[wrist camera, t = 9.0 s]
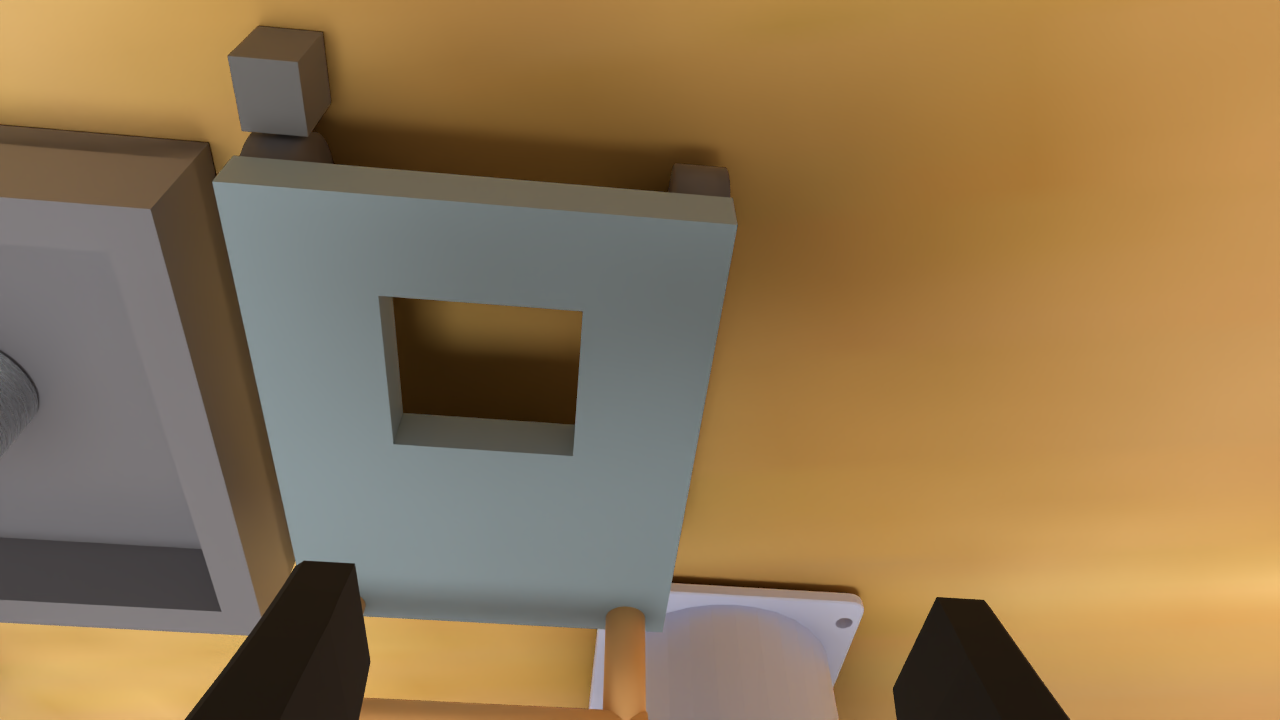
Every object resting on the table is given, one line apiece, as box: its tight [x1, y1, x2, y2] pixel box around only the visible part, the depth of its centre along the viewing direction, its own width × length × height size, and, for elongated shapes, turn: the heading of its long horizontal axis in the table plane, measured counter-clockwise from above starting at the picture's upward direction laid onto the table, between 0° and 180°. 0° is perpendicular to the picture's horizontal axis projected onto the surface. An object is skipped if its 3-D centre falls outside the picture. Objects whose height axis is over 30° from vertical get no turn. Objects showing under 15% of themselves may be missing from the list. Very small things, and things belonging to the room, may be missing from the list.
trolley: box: [212, 26, 738, 720], centre depth 19 cm, size 14×9×7 cm
